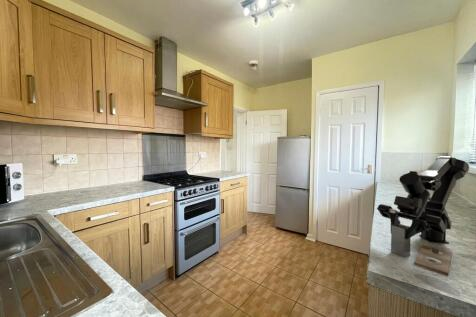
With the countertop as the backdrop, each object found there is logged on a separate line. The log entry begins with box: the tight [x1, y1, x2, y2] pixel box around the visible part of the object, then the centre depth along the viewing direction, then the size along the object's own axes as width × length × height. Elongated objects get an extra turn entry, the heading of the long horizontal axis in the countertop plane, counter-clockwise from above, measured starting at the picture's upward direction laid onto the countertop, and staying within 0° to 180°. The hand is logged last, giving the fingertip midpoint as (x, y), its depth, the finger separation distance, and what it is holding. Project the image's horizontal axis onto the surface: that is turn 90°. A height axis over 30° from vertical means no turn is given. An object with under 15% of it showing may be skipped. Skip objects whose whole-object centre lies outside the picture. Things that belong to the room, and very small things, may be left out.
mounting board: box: [413, 243, 453, 276], centre depth 66 cm, size 18×8×2 cm, turn 130°
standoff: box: [390, 223, 412, 258], centre depth 70 cm, size 4×4×10 cm
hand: (398, 236), depth 69 cm, fingers closed on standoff, 4 cm apart
